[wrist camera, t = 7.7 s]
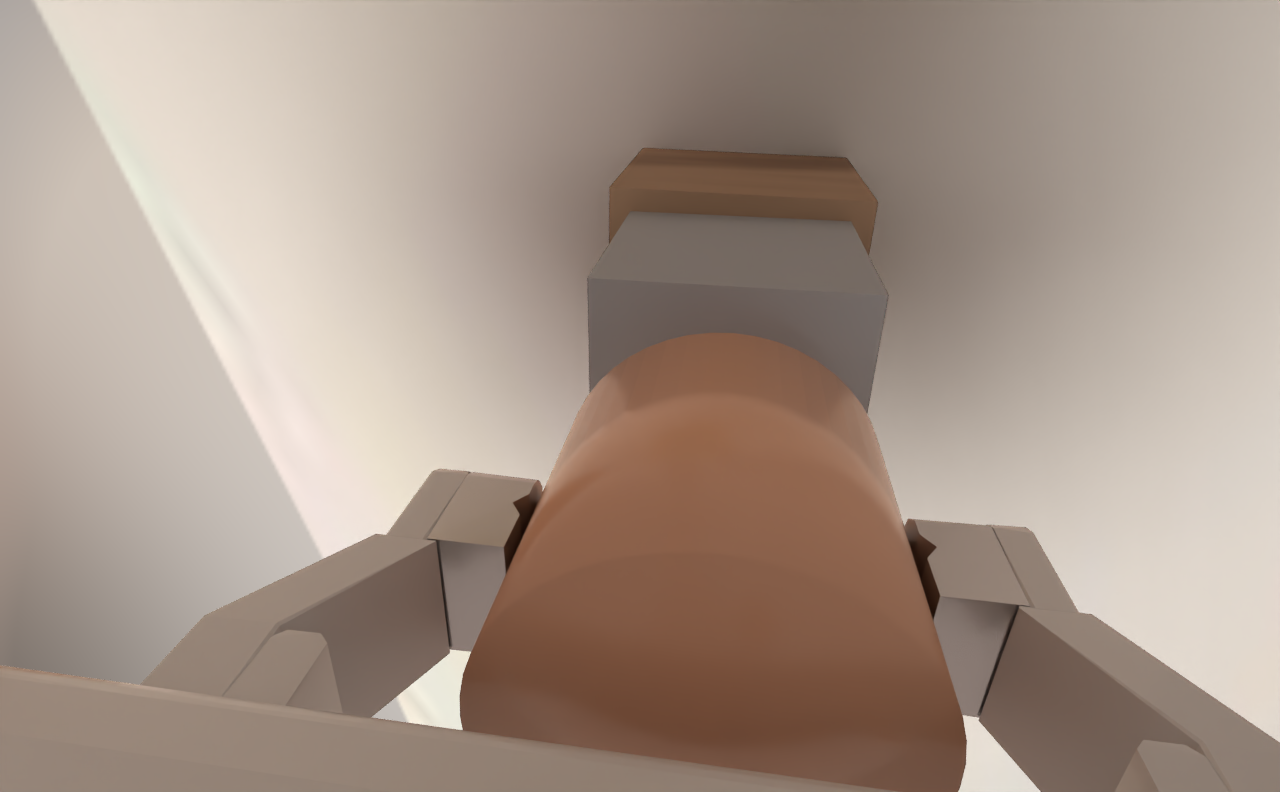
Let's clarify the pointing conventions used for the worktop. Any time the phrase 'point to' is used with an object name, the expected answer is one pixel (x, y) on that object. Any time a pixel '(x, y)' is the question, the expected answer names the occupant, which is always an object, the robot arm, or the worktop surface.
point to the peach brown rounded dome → (722, 583)
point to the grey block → (738, 289)
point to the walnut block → (743, 188)
